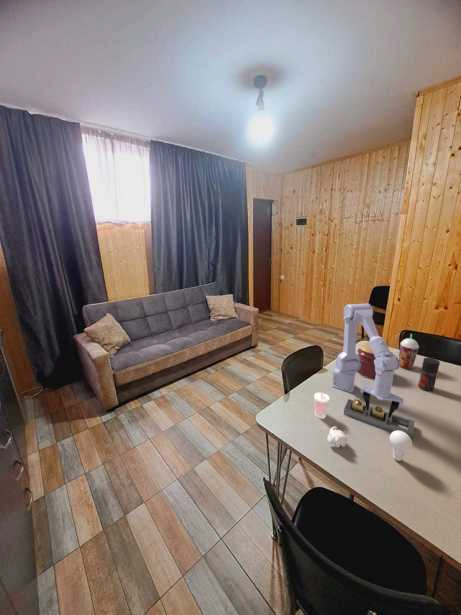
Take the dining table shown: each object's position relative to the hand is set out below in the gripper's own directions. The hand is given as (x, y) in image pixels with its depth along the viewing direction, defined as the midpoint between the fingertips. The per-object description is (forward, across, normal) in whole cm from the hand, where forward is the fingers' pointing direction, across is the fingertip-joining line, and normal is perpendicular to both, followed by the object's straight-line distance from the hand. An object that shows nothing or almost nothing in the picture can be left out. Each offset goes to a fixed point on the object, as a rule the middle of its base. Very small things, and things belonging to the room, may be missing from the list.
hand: (378, 412), depth 100 cm
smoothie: (+4, +7, +55) cm, 55 cm away
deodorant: (+4, +16, +37) cm, 41 cm away
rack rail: (+4, 0, 0) cm, 4 cm away
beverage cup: (+4, -20, -10) cm, 23 cm away
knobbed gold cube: (+4, 0, 0) cm, 4 cm away
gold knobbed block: (+4, -8, 0) cm, 8 cm away
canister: (+4, -9, +38) cm, 39 cm away
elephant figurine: (+4, -10, -22) cm, 24 cm away
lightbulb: (+4, +8, -17) cm, 19 cm away
